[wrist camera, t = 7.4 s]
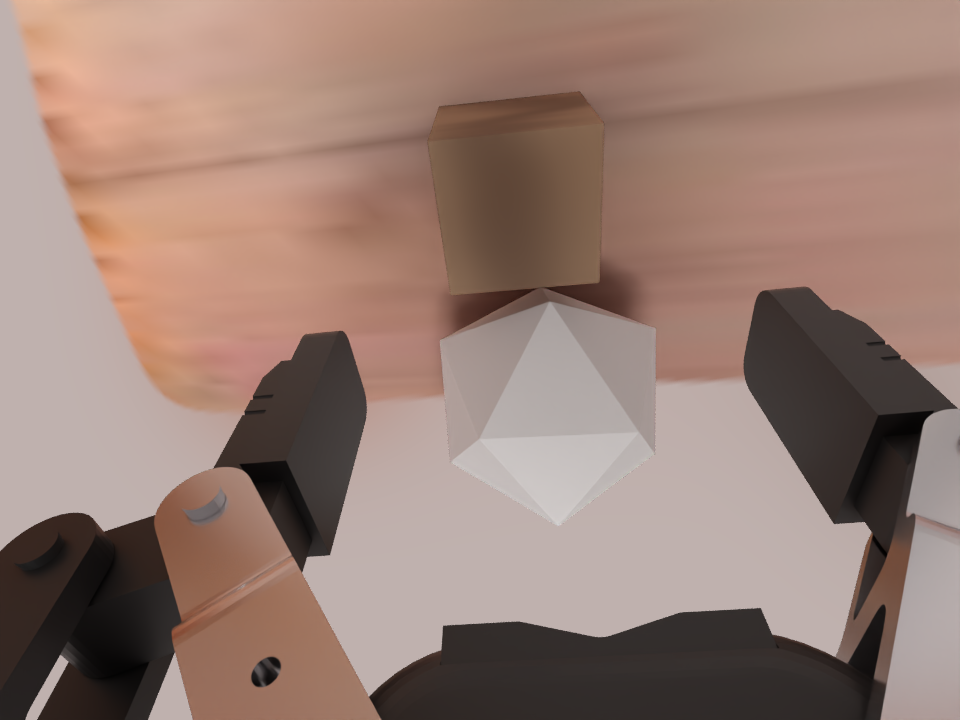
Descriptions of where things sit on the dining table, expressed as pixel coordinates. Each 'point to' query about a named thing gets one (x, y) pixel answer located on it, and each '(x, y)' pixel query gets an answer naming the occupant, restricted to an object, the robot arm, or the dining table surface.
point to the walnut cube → (519, 192)
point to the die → (550, 400)
